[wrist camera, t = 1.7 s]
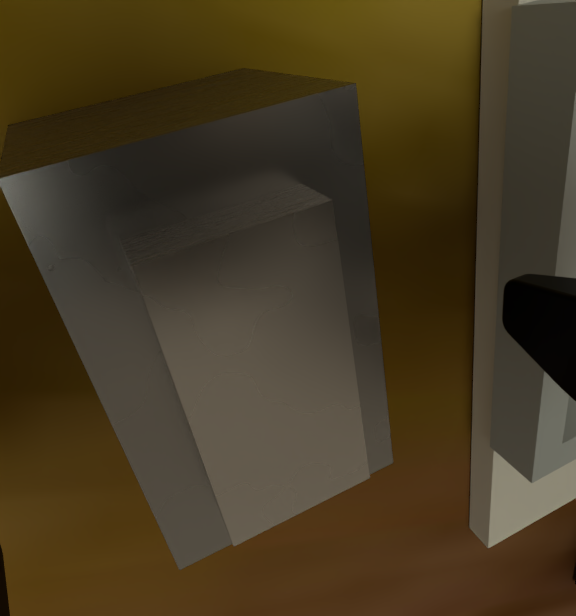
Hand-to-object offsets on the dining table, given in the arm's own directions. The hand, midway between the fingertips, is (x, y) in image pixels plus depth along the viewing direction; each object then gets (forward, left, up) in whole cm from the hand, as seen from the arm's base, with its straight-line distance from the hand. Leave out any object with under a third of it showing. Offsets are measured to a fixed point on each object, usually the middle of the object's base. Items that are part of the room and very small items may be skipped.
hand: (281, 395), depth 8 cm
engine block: (0, 0, -6) cm, 6 cm away
